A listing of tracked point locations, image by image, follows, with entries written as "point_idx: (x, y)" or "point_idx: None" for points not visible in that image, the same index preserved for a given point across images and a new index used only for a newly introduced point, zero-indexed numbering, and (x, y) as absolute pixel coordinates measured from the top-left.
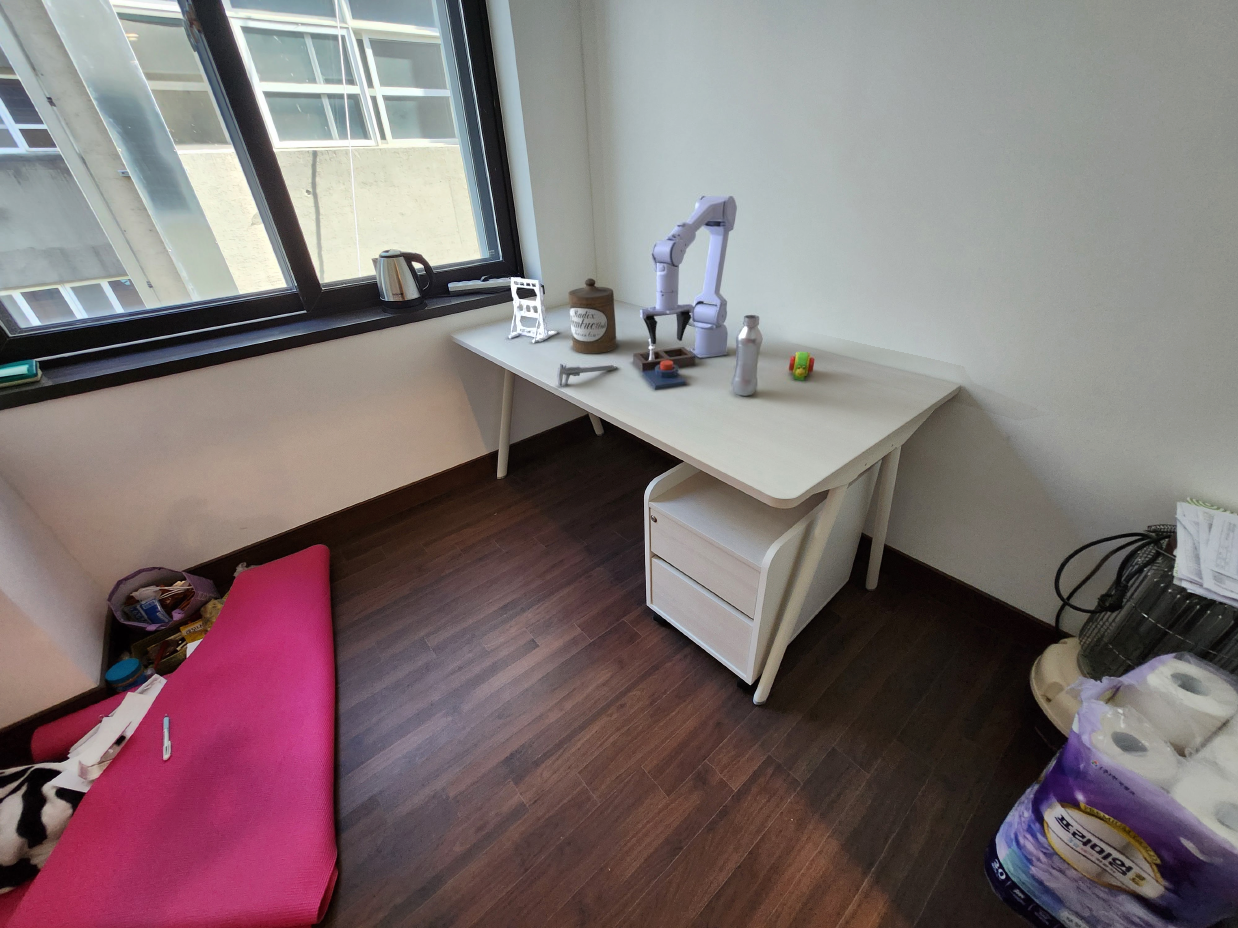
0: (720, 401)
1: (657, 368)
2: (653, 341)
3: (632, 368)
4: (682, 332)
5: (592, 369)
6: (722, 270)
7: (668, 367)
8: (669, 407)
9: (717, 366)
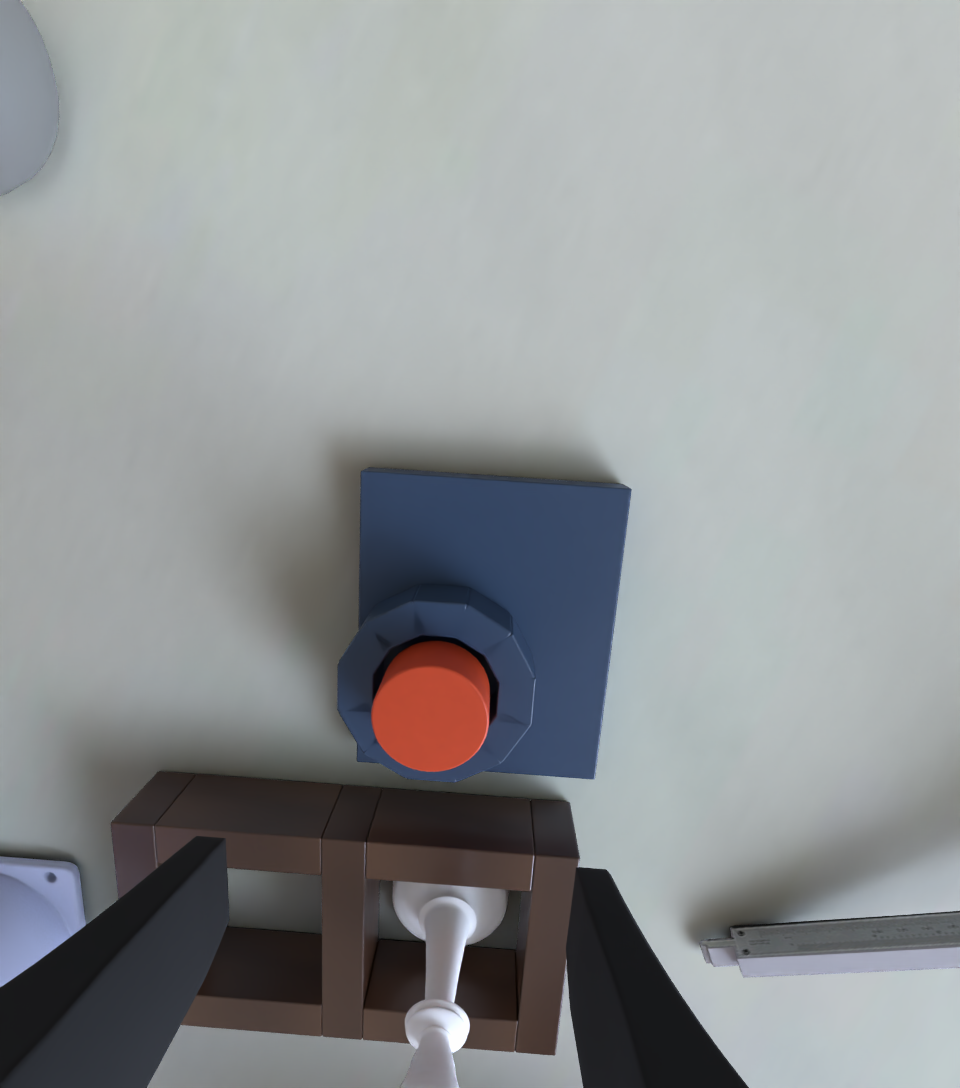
0: (235, 29)
1: (514, 711)
2: (621, 900)
3: None
4: (115, 926)
5: (954, 930)
6: None
7: (440, 655)
8: (679, 99)
9: (5, 692)
